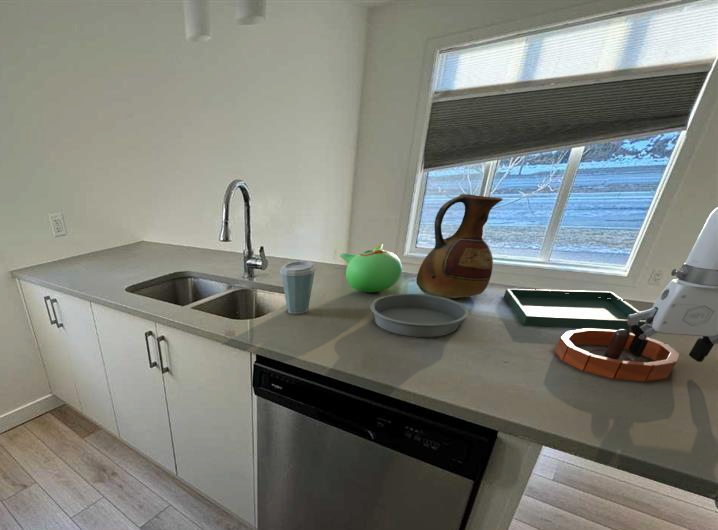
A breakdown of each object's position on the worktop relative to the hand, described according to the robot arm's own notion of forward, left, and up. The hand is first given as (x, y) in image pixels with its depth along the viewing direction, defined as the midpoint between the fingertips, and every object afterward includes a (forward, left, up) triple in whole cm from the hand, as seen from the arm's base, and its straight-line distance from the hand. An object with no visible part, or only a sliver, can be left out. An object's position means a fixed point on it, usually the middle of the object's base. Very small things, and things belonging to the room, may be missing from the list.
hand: (663, 356), depth 85 cm
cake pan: (+46, -16, -2) cm, 49 cm away
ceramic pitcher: (+35, -42, -2) cm, 55 cm away
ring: (+8, 0, -2) cm, 8 cm away
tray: (+7, -30, -2) cm, 31 cm away
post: (+8, 0, -2) cm, 8 cm away
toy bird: (+59, -44, -2) cm, 74 cm away
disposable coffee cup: (+81, -21, -2) cm, 83 cm away
